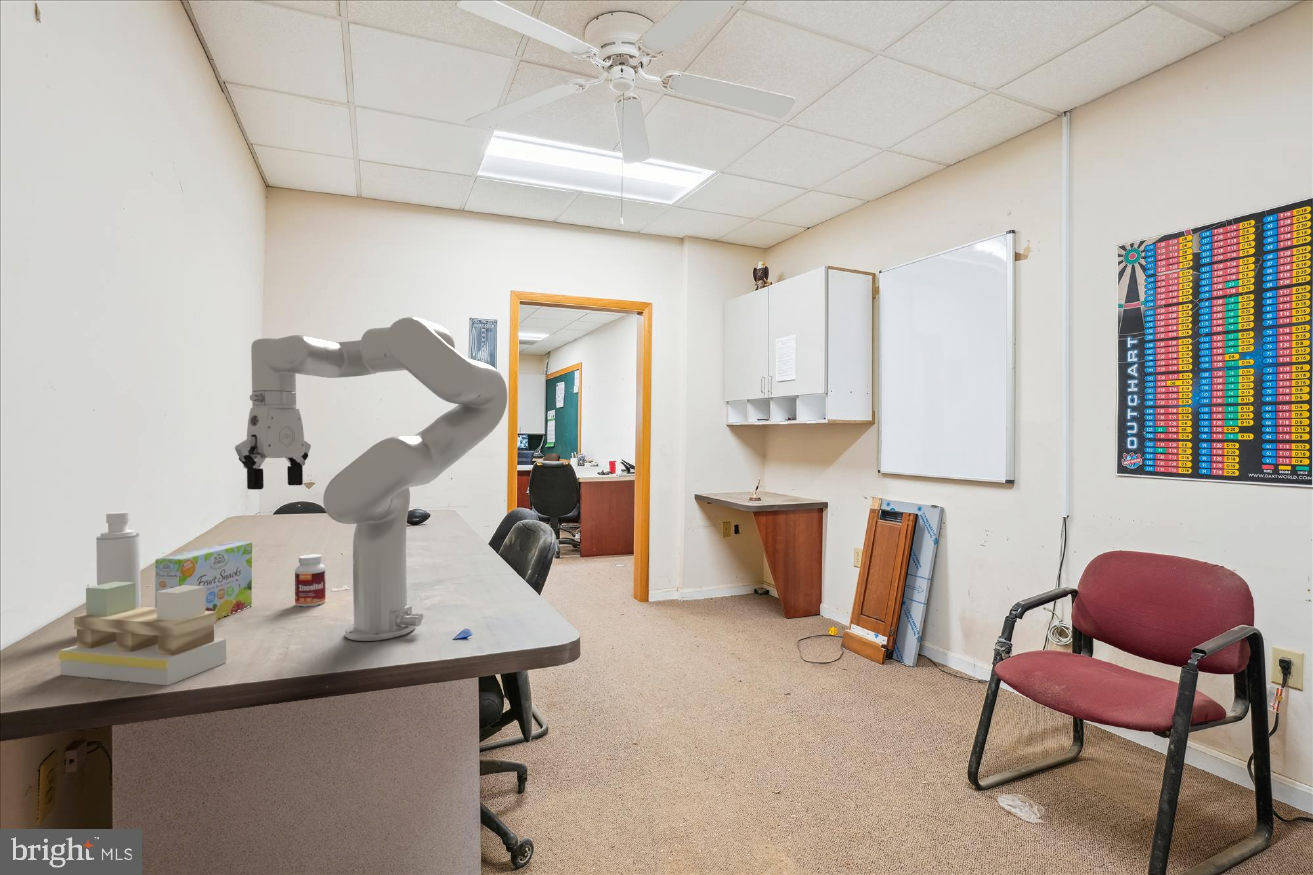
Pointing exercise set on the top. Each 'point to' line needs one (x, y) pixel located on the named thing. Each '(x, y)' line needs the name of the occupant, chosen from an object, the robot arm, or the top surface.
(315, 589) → the pill bottle
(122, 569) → the white tall bottle
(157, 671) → the block
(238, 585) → the snack box
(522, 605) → the top surface
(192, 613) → the block
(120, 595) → the block
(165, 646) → the pallet
